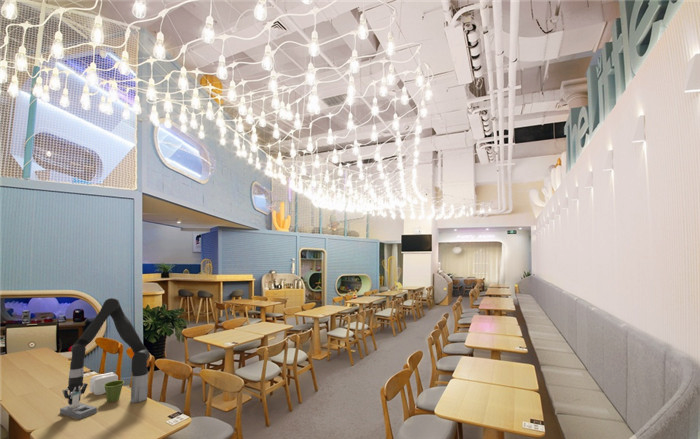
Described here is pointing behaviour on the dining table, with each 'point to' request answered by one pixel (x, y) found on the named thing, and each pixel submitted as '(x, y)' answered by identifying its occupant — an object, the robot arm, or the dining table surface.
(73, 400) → the plug peg
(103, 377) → the cable organizer
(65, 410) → the socket board
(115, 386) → the plant pot
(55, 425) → the dining table surface
